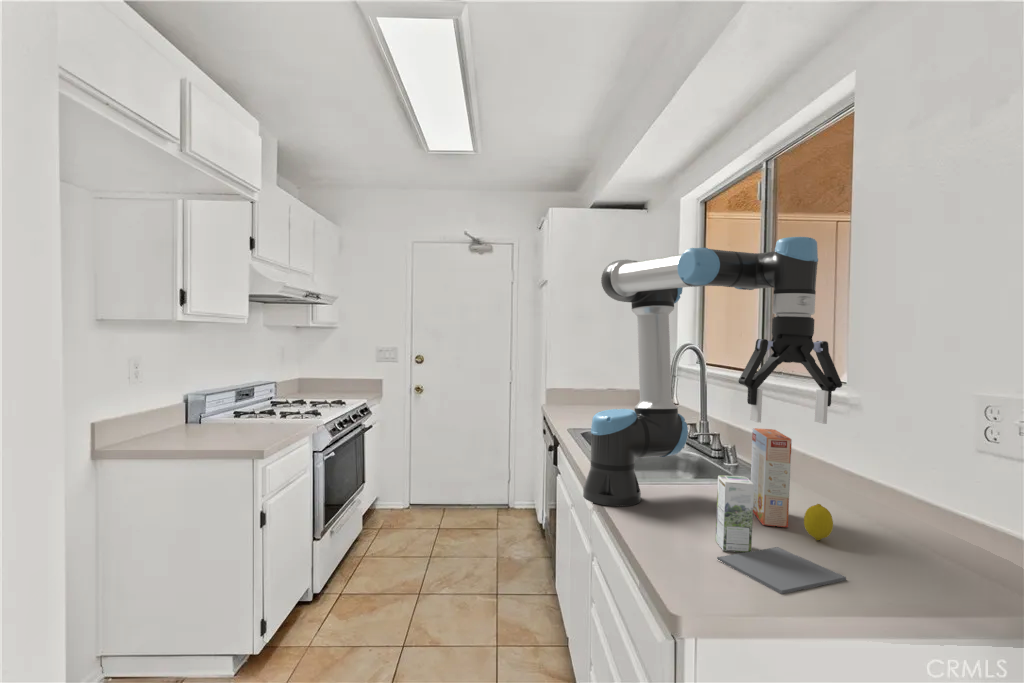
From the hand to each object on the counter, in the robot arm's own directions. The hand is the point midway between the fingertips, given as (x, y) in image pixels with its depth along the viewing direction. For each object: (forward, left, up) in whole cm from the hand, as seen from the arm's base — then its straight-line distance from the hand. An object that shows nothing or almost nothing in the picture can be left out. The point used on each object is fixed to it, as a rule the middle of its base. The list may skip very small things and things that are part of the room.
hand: (788, 422), depth 111 cm
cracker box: (-19, +16, -27) cm, 37 cm away
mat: (+5, -7, -27) cm, 28 cm away
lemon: (-4, +14, -27) cm, 31 cm away
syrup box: (-7, -7, -27) cm, 29 cm away
